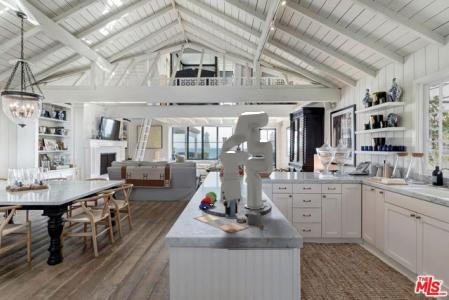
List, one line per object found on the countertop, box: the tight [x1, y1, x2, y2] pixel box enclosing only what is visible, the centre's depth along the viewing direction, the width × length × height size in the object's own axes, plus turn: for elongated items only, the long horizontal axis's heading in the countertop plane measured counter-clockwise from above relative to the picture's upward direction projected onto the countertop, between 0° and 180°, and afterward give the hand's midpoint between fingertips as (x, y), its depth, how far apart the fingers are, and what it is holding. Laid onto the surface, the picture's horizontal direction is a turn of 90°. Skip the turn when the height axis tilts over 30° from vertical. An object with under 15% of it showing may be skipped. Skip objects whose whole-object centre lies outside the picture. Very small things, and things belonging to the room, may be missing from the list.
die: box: [247, 211, 262, 225], centre depth 142 cm, size 5×5×5 cm
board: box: [192, 213, 250, 234], centre depth 142 cm, size 12×32×1 cm, turn 40°
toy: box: [198, 191, 218, 210], centre depth 177 cm, size 8×8×15 cm
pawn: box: [225, 199, 238, 220], centre depth 134 cm, size 6×6×11 cm
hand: (231, 213), depth 134 cm, fingers closed on pawn, 4 cm apart
